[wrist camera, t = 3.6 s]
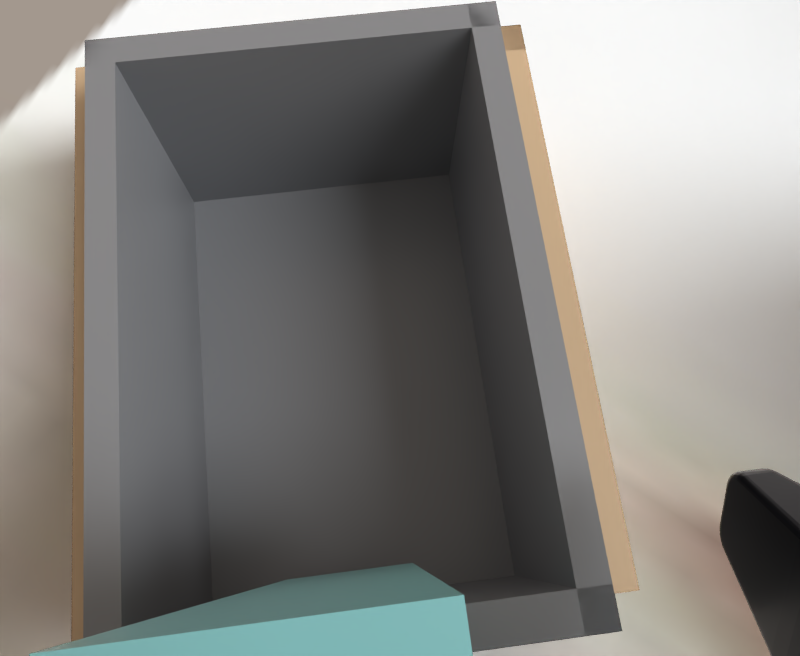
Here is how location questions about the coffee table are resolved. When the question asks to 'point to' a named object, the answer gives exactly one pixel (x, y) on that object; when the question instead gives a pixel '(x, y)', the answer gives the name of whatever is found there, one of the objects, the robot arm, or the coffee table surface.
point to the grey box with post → (324, 350)
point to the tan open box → (565, 302)
